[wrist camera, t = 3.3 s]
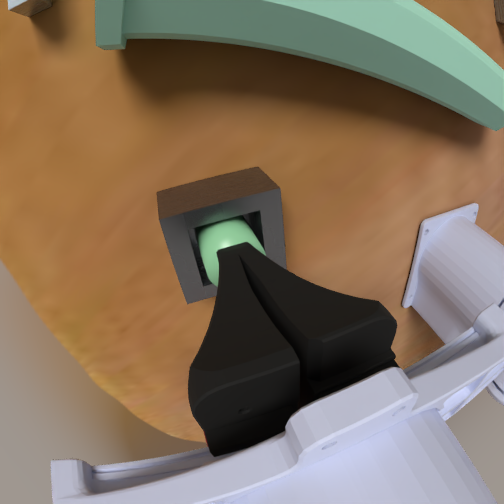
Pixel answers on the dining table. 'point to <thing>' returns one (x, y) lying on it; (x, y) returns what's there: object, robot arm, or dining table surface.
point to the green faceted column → (329, 41)
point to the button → (223, 241)
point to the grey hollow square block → (216, 209)
